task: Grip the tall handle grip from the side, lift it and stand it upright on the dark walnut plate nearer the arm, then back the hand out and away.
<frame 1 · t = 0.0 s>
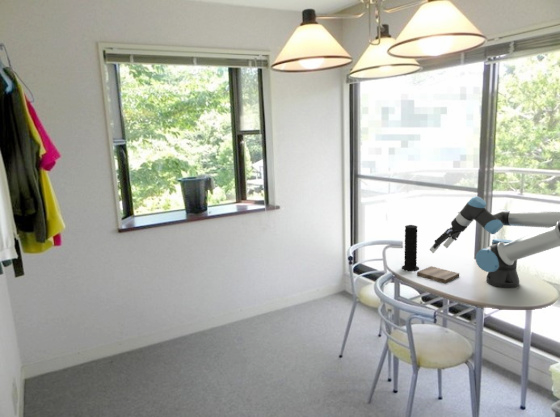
hand: (438, 248, 221), 15 cm above the table, tool tilted 35°, fingers open, 13 cm apart
walnut plate: (437, 276, 222), on the table
handle grip: (410, 268, 236), on the table
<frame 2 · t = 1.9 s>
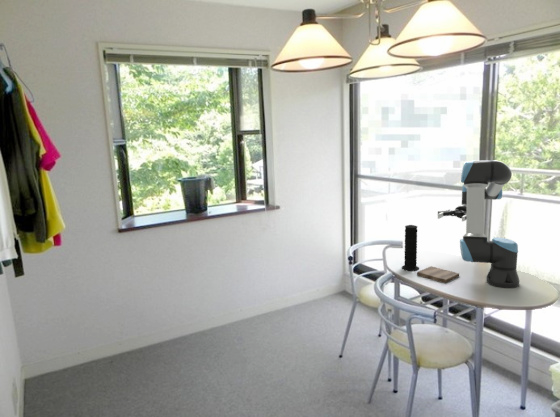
hand: (450, 217, 229), 30 cm above the table, tool horizontal, fingers open, 13 cm apart
nothing on the table moved.
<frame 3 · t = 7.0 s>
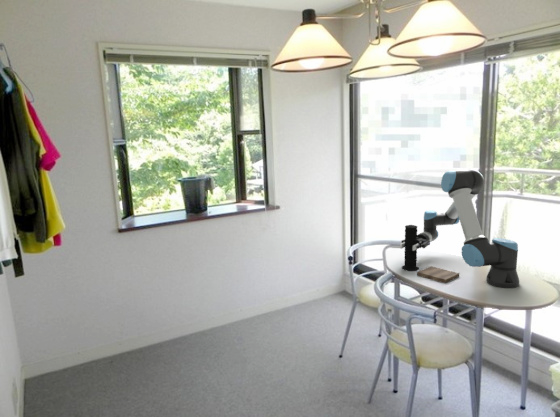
hand: (407, 247, 230), 14 cm above the table, tool horizontal, fingers closed on handle grip, 7 cm apart
handle grip: (410, 268, 236), on the table, touching gripper
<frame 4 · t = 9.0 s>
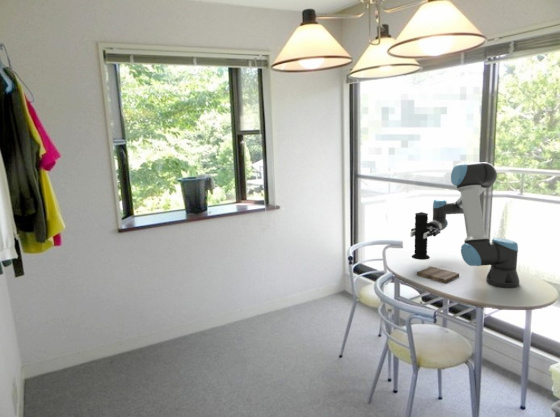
hand: (417, 235, 224), 22 cm above the table, tool horizontal, fingers closed on handle grip, 7 cm apart
handle grip: (420, 257, 230), point 8 cm above the table, touching gripper
when the fingers open (17 cm above the table, at t = 11.3 s): handle grip drops 1 cm, resting on walnut plate.
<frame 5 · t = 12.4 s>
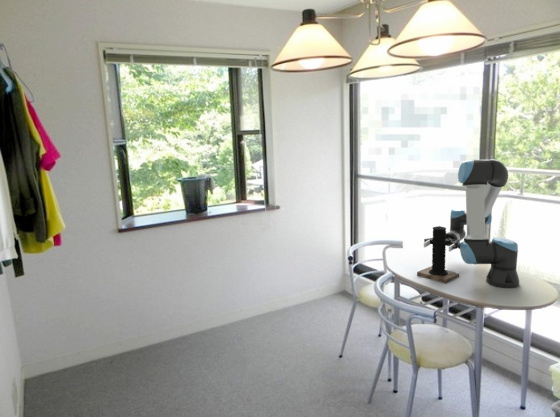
hand: (436, 247, 216), 18 cm above the table, tool horizontal, fingers open, 13 cm apart
handle grip: (438, 272, 222), point 2 cm above the table, touching walnut plate
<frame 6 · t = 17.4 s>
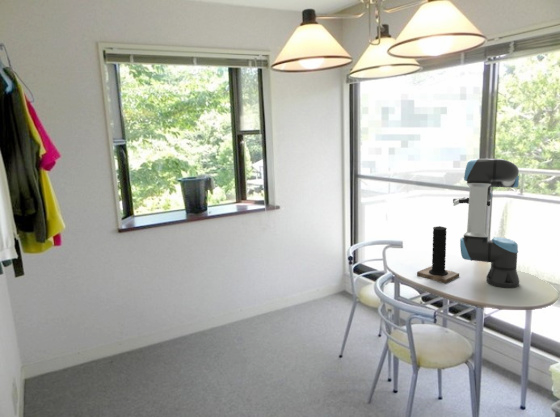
hand: (466, 204, 225), 38 cm above the table, tool horizontal, fingers open, 13 cm apart
nothing on the table moved.
at the end: handle grip inside the target area on the walnut plate (0.2 cm from its centre), point 1.8 cm above the walnut plate's base; handle grip tilted 0°; the gripper is holding nothing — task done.
